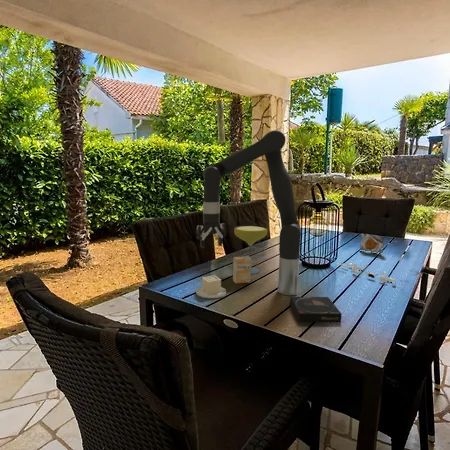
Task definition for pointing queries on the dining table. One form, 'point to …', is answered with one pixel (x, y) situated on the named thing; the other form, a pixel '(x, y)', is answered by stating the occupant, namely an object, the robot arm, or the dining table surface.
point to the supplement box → (242, 269)
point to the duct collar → (211, 285)
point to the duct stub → (210, 296)
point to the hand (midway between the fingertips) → (211, 246)
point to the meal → (372, 243)
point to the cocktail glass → (250, 236)
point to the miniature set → (368, 272)
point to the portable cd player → (315, 309)
